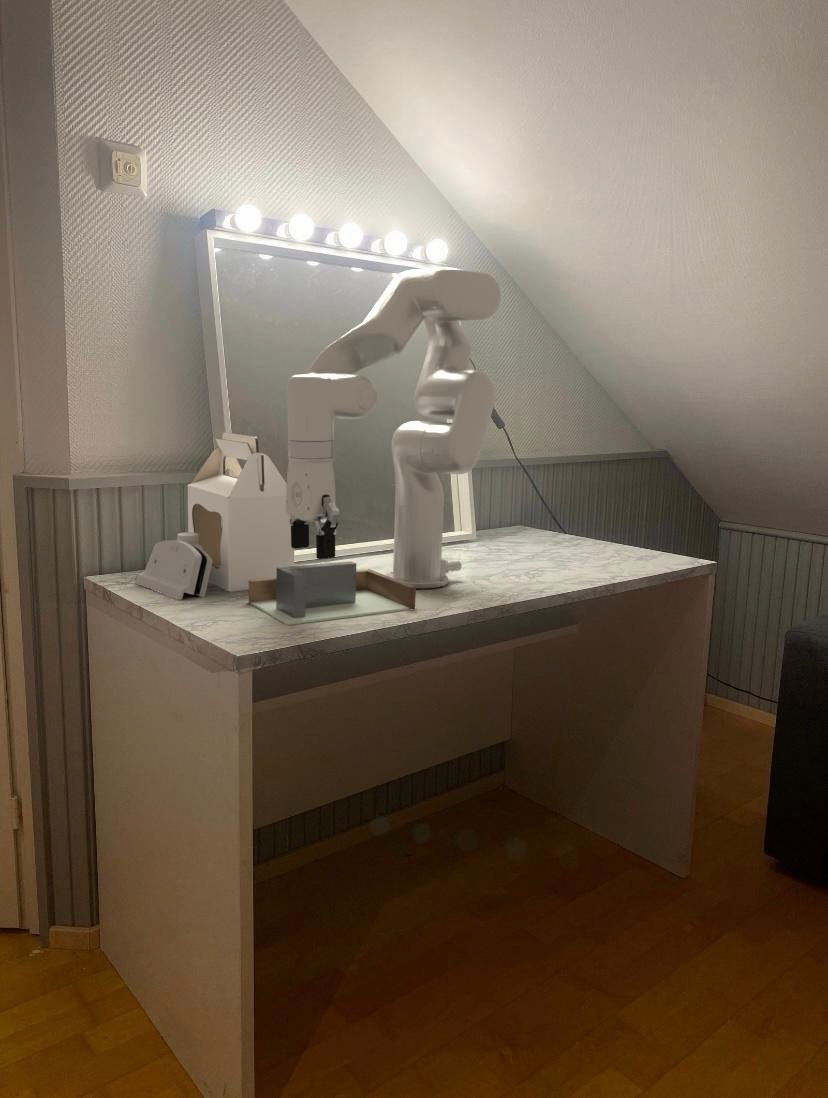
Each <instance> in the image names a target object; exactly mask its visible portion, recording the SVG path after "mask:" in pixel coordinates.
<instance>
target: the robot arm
mask: <svg viewBox="0 0 828 1098" xmlns="http://www.w3.org/2000/svg"><path fill="white" fill-rule="evenodd" d="M501 295H502V294H501V288H500V285H499V284H498V281H497V280H496V279H495V278H494V276H492V274H489V273H487V272H484V271H476V270H475V271H474V270H466V269H460V268H452V267H433V268H430V267H429V268H419V269H417V268H416V269H409V270H405V271H403V272H400V273H399V274H397V275H396V276H395V277H394V278H393V279H392V280H391V282H390V283H389V285H388V286H387V287H386V289H385V291H384V292H383V294H381V297H380V298H379V299H378V300H377V302H376V303H375V304H374V306H373V307H372V309H371V310H370V312H369V313H368V315H367V316H366V317H365V319H364V320H363V322H361V323H360V324H359V325H357V326H355V327H353V328H352V329H351V330H349V331H348V332H346V333H345V334H344V335H343V336H341V337H339V338H338V339H336V340H335V341H334V342H332V343H331V344H329V345H328V346H326V347H325V348H324V349H323V350H322V351H321V352H320V353H319V354H318V355H317V356H316V358H315V359H314V360H313V362H312V363H311V364H310V366H309V367H308V369H307V370H306V371H305V373H304V374H294V375H291V376H290V377H289V378H288V381H287V387H286V390H287V391H286V394H287V395H286V399H287V404H286V405H287V449H288V450H287V452H288V458H287V459H288V465H287V472H286V473H287V474H286V483H287V488H286V512H287V513H288V515H290V525H291V547H292V548H294V550H296V549H301V548H309V547H310V524H308V523H313V522H314V524H315V527H316V530H317V533H318V534H316V535H315V539H316V541H315V542H316V543H315V544H316V546H315V548H316V555H315V556H316V559H318V560H325V559H334V558H335V557H336V534H337V528H338V525H339V517H340V513H341V512H340V509H339V508H338V507H337V505H336V503H337V501H336V500H337V499H336V498H337V497H336V483H335V471H334V470H335V469H334V465H333V464H334V463H333V462H334V461H335V419H340V420H341V419H344V420H359V419H362V418H365V417H366V416H367V417H368V415H370V414H371V413H372V412H373V410H374V409H375V407H376V405H377V403H378V392H377V388H376V386H375V384H374V383H373V382H372V381H371V379H369V378H368V377H366V376H364V375H361V374H357V373H359V372H361V371H363V370H366V369H368V368H371V367H374V366H377V365H379V364H382V363H385V362H387V361H390V360H392V359H394V358H395V357H398V356H399V355H400V354H401V353H403V351H404V350H405V348H406V346H407V345H408V343H409V341H411V338H412V337H413V335H414V334H415V332H416V331H417V329H418V328H419V326H420V325H421V323H422V322H424V325H425V329H426V332H427V337H428V347H427V351H426V355H425V359H424V361H423V362H424V363H423V364H422V369H421V372H420V375H419V378H418V381H417V385H416V388H415V393H414V397H413V398H414V399H413V402H414V403H413V404H414V408H415V409H416V411H417V413H419V414H420V415H421V416H423V417H426V418H431V419H436V420H438V419H439V420H451V421H452V422H444V421H443V422H442V421H431V420H411V421H408V422H404V423H403V424H401V425H400V426H399V427H397V428H396V429H395V431H394V432H393V436H392V438H391V455H392V461H393V467H394V476H395V477H394V478H395V480H394V481H395V483H394V484H395V494H394V497H395V498H394V499H395V500H394V531H393V535H394V536H393V558H392V559H393V561H392V563H393V565H392V571H391V572H388V573H386V574H385V575H386V576H389V577H391V578H394V579H397V580H399V581H402V582H405V583H407V584H410V585H413V586H415V587H416V589H434V588H441V586H442V587H445V586H447V585H448V584H449V576H447V575H446V574H447V573H449V572H450V571H451V572H455V571H460V570H461V569H462V563H461V562H460V561H459V560H456V561H448V560H446V559H443V558H442V555H443V552H442V551H443V534H444V533H443V531H444V529H443V528H444V527H443V526H444V510H445V507H444V504H445V492H444V488H443V484H442V482H441V480H440V478H439V476H438V474H440V473H441V474H449V475H450V474H451V475H464V474H467V473H469V472H470V471H471V470H473V468H474V467H475V466H476V464H477V462H478V459H480V458H479V457H480V455H481V451H482V448H483V445H484V442H485V441H484V440H485V437H486V435H487V431H488V428H489V425H490V424H489V423H490V422H491V417H492V413H493V409H494V406H495V405H494V404H495V389H494V384H493V382H492V379H491V378H490V376H489V375H487V373H485V372H484V371H481V370H476V369H469V368H468V367H469V364H470V360H471V356H472V354H471V351H472V349H471V345H470V341H469V339H468V337H467V335H466V333H465V331H464V330H463V328H462V326H461V324H460V322H459V321H462V322H463V321H464V322H465V321H482V320H483V321H484V320H488V319H490V318H492V317H493V316H494V315H495V314H496V313H497V311H498V309H499V307H500V304H501V299H502V297H501Z"/></svg>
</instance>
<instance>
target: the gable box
mask: <svg viewBox="0 0 828 1098" xmlns="http://www.w3.org/2000/svg"><path fill="white" fill-rule="evenodd" d="M215 441H216V442H217V445H218V447H215V448H214V449H213V450H212V451H211V452H210V454H209V455H208V457H206V460H205V461H204V462H203V464H202V465H201V467H200V469H198V471H197V473H196V474H195V475H194V477H193V478H192V480H191V482H190V483H188V484H187V532H192V533H198V534H199V541H198V544H199V545H201V546H202V549H203V551H205V552H206V553H207V554H208V555H209V556H210V557H211V559H212V567H211V571H210V576H209V580H208V582H210V583H212V584H214V585H216V586H217V587H219V588H221V589H223V590H225V591H226V592H228V593H231V592H241V591H242V592H245V591H249V580H257V579H268V578H276V570H277V567H289V566H295V549H294V548H292V547H291V525H290V515H288V513H287V512H286V488H287V481H286V480H285V479H284V478H283V476H282V474H281V473H280V472H279V471H278V469H277V467H276V466H275V464H274V462H273V461H272V460H271V458H270V456H268V455H267V454H265V453H263V452H260V450H259V449H260V448H259V439H258V437H257V436H253V435H247V434H241V433H240V434H239V433H233V432H232V433H231V432H223V433H222V438H220V437H215ZM238 459H239V460H245V463H244V465H243V467H241V465H240V464H239V461H238ZM227 468H228V469H231V470H233V471H234V474H235V477H232V476H228V475H225V470H227ZM220 515H221V516H220ZM221 517H222V521H223V529H222V527H221ZM218 566H220V567H218Z"/></svg>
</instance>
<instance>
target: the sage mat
mask: <svg viewBox="0 0 828 1098" xmlns="http://www.w3.org/2000/svg"><path fill="white" fill-rule="evenodd" d="M250 605H251V606H253V607H255V608H256V609H258V610H260V611H262V612H263V613H265V614H267V615H269V616H270V617H273V618H274V619H275V620H277V621H280V622H281V623H283V624H284V625H285V626H290V625H292V626H293V625H299V624H308V623H317V622H324V621H331V620H341V619H348V618H358V617H363V616H373V615H381V614H386V613H387V614H388V613H396V612H404V610H405V611H410V610H409V607H406V606H404V605H402V604H399V603H397V602H394V601H392V600H390V599H387V598H385V597H382V596H380V595H378V594H375V593H373V592H370V591H368V590H361V591H356V602H355V603H349V604H340V605H332V606H323V607H314V608H305V617H300V618H292V617H291V616H289V615H287V614H285V613H283V612H282V611H280V610H278V609H276V600H267V601H257V602H251V604H250Z"/></svg>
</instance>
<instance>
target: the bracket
mask: <svg viewBox="0 0 828 1098" xmlns="http://www.w3.org/2000/svg"><path fill="white" fill-rule="evenodd" d="M356 571H357V563H356V562H353V561H340V562H339V561H337V562H328V563H316V564H314V563H313V564H304V565H303V564H302V565H294V566H289V567H277V570H276V609H278V610H280V611H282V612H283V613H285V614H287V615H289V616H291V617H292V618H300V617H305V608H314V607H323V606H332V605H340V604H349V603H355V602H356Z"/></svg>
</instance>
